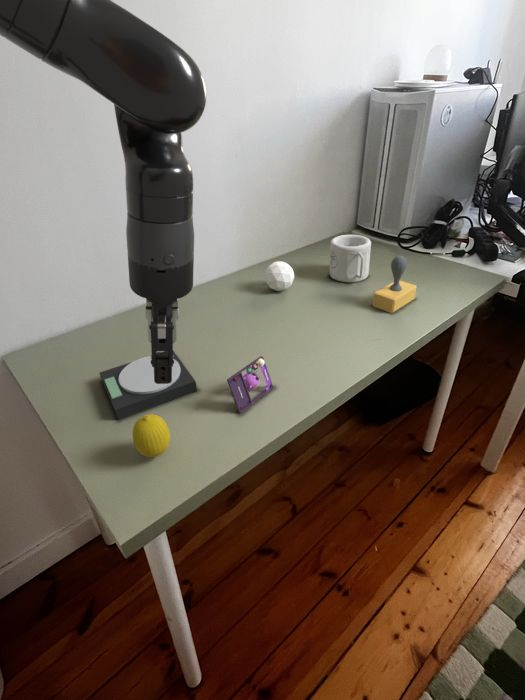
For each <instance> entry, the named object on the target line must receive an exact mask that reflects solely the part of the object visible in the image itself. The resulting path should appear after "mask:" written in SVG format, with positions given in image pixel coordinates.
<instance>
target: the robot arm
mask: <svg viewBox="0 0 525 700" xmlns="http://www.w3.org/2000/svg"><path fill="white" fill-rule="evenodd" d="M0 36H1V37H3V38H5V39H6V40H7V41H9V42H11V43H12V44H14V45H15V46H17V47H19V48H20V49H22V50H23V51H24V52H26V53H28V54H30V55H32V56H33V57H35V58H37V59H38V60H41V61H42V62H43V63H45V64H46V65H48V66H50V67H52V68H53V69H56V70H57V71H60V72H61V73H64V74H66V75H67V76H70V77H72V78H74V79H76V80H78V81H80V82H82V83H83V84H85V85H86V86H88V87H89V88H91V89H92V90H93V91H95V92H96V93H97V94H99V95H101V96H102V97H103V98H105V99H106V100H107V101H109V102H110V103H112V104H113V106H114V113H115V119H116V125H117V130H118V131H117V132H118V136H119V140H120V141H119V142H120V145H121V150H122V155H123V160H124V169H125V171H124V172H125V177H124V178H125V179H124V180H125V181H124V182H125V197H126V198H125V199H126V200H125V201H126V211H127V213H126V215H127V216H126V228H125V229H126V230H125V231H126V233H125V235H126V237H125V238H126V249H127V266H128V283H129V287H130V289H131V291H132V292H133V293H134V294H135V295H137V296H139V297H140V298H143V299H146V301H145V302H146V303H145V318H146V320H147V341H148V342H149V343H150V347H151V351H150V352H151V355H150V356H151V359H152V360H151V364H152V367H154V382H155V383H156V384H169V383H171V382H172V367H173V364H174V360H173V359H174V355H173V351H174V343H176V342H177V337H178V335H177V332H178V331H177V321H178V319H179V299H182V298H184V297H186V296H187V295H188V294H190V293H191V291H192V290H193V287H194V265H195V228H194V215H193V214H194V175H193V168H192V166H191V164H190V162H189V160H188V159H187V157H186V155H185V151H184V147H183V146H184V145H183V133H185V132H187V131H188V130H190V129H192V128H193V127H194V126H195V125H197V123H198V122H199V121H200V120H201V118H202V116H203V113H204V111H205V108H206V105H207V89H206V83H205V80H204V76H203V73H202V71H201V70H200V67H199V66H198V65H197V63H196V61H195V60H194V59H193V58H192V56H191V55H189V54H188V52H187V51H185V50H184V49H183V48H182V47H181V46H180V45H178V44H177V43H175V42H174V41H173V40H172V39H170V38H169V37H167V36H166V35H165V34H163V33H162V32H160V31H159V30H157V29H156V28H154V27H153V26H152V25H150V24H149V23H147V22H146V21H144V20H142V19H141V18H140V17H138V16H136V15H135V14H133V13H132V12H130V11H129V10H127V9H126V8H124V7H122V6H121V5H119V4H117V2H114V1H113V0H0ZM164 351H168V352H169V353H168V352H164Z"/></svg>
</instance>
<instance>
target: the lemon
mask: <svg viewBox="0 0 525 700" xmlns="http://www.w3.org/2000/svg"><path fill="white" fill-rule="evenodd" d="M132 442H133V445H134V448H136V450H137V451H138V452H139V453H140V454H141V455H143V456H145V457H147V458H155V457H158V456H161V455H162V454H164V453H165V452H166V451H167V449H168V448H169V446H170V442H171V432H170V428H169V426H168V424H167V423H166V421H165V420H164V419H163V418H162V417H161V416H159V415H156V414H152V413H150V414H149V413H147V414H144V415H142V416H141V417H139V418H138V419H137V420H136V421H135V423H134V425H133V428H132Z"/></svg>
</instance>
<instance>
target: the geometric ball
mask: <svg viewBox="0 0 525 700" xmlns="http://www.w3.org/2000/svg"><path fill="white" fill-rule="evenodd" d="M294 279H295V273H294V270H293V268H292V266H291V265H289V264H288V263H287V262H285V261H283V260H282V261H277V260H276V261H274V262H272V263H271V264H270V265H268V266H267V267H266V270H265V273H264V280H265V283H266V284H267V286H268V287H269V288H270V289H272V290H274V291H277V292H282V291H285V290H288V288H290V287H291V286H292V285H293V282H294Z"/></svg>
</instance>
